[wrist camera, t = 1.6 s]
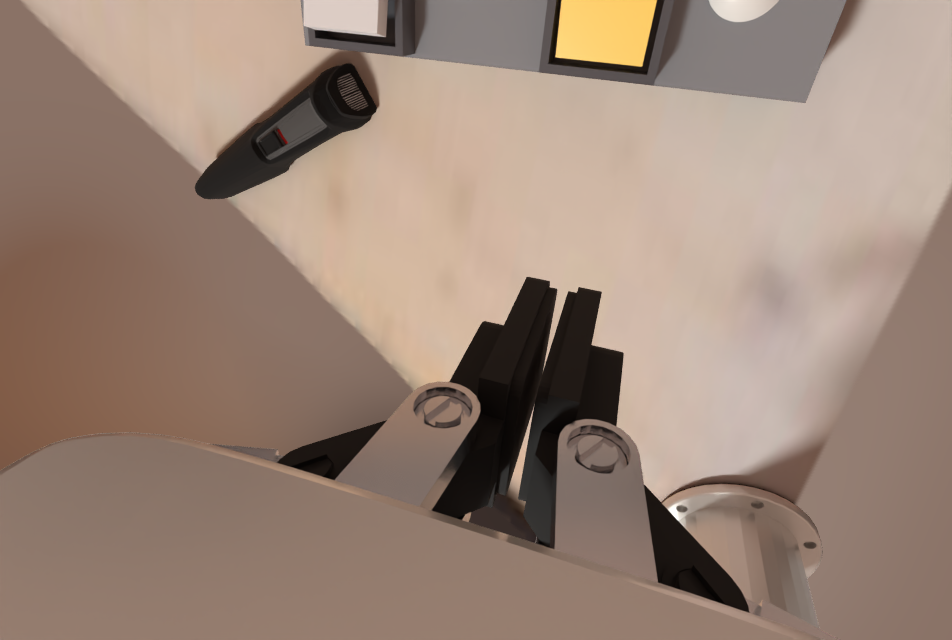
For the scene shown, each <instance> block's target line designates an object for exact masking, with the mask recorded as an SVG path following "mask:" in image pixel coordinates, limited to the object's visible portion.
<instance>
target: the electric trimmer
mask: <svg viewBox="0 0 952 640" xmlns="http://www.w3.org/2000/svg"><path fill="white" fill-rule="evenodd" d="M376 109H377V107H376V105H375V103H374V101H373V99H372V98H371V96H370V94H369V92H368V90H367V89H366V87H365V85H364V83H363V81H362V79H361V78H360V76H359V74H358V72H357V70H356V69H355V67H354V66H353V65H352V64H344V65H342V66H336V67H333V68H330V69H328V70H326V71H324V72H323V73H322V74H321V75H320V76H319V77H318V78H317V79H316V80H315V81H314V82H313V83H312V84H310V85H309V86H308V87H307V88H305V89H304V90H303V91H302V92H300V93H299V94H298V95H297V96H296V97H294V98H293V99H292V100H291V101H289V102H288V103H287V104H286V105H284V106H283V107H282V108H281V109H279V110H278V111H277V112H276V113H275V114H273V115H272V116H271V117H270V118H268V119H266V120H265V121H263V122H262V123H257V124H256V125H254V126H253V127H252V128H251V129H249V130H248V131H247V132H246V133H245V134H243V135H242V136H241V137H240V138H239V139H238V140H237V141H236V142H235V143H234V144H232V145H231V146H230V147H229V148H228V149H227V150H226V151H225V152H224V153H223V154H222V155H220V156H219V157H218V158H217V159H216V160H215V161H214V162H213V163H212V164H211V165H210V166H209V167H208V168H207V169H206V170H205V172H204V173H203V174H202V176H201V177H200V178H199V180H198V181H197V183H196V185H195V190H196V193H197V194H198V195H199V196H201V197H202V198H204V199H224V198H228V197H232V196H234V195H236V194H238V193H241V192H243V191H245V190H247V189H250V188H252V187H254V186H256V185H259V184H261V183H263V182H265V181H268V180H270V179H272V178H275V177H277V176H279V175H281V174H283V173H285V172H286V171H288V170H289V167H290V164H291V163H292V162H293V161H294V160H296V159H297V158H299V157H301V156H302V155H304V154H305V153H307V152H309V151H310V150H312V149H314V148H315V147H317V146H319V145H320V144H322V143H324V142H326V141H327V140H329V139H331V138H333V137H335V136H336V135H338V134H340V133H342V132H346V131H350V130H354V129H358V128H360V127H361V126H363V125H364V124H365V123H367V122H368V121H369V120H370V119H371V115H373V114H374V113H375V112H376ZM270 159H271V160H270Z"/></svg>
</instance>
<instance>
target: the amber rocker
mask: <svg viewBox="0 0 952 640" xmlns="http://www.w3.org/2000/svg"><path fill="white" fill-rule="evenodd" d="M656 3H657V0H562V1H561V10H560V20H559V29H558V38H557V48H556V57H557V58H567V59H576V60H585V61H594V62H603V63H613V64H622V65H631V66H640V67H642V65H643V61H644V56H645V52H646V48H647V43H648V39H649V34H650V30H651V25H652V21H653V16H654V12H655V7H656Z"/></svg>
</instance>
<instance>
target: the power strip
mask: <svg viewBox="0 0 952 640" xmlns="http://www.w3.org/2000/svg"><path fill="white" fill-rule="evenodd" d="M561 1H562V0H388V9H387V28H386V37H380V36H370V35H361V34H352V33H342V32H333V31H324V30H315V29H312V28H309V27H306V26H304V0H301V8H302V18H303V27H304V36H305V45H307V46H315V47H324V48H333V49H341V50H350V51H359V52H367V53H376V54H385V55H393V56H402V57H411V58H420V59H429V60H437V61H446V62H454V63H463V64H472V65H480V66H489V67H498V68H506V69H515V70H524V71H532V72H540V73H549V74H558V75H566V76H575V77H584V78H592V79H601V80H610V81H618V82H627V83H636V84H644V85H653V86H662V87H671V88H680V89H688V90H697V91H706V92H714V93H723V94H732V95H740V96H749V97H757V98H766V99H775V100H783V101H792V102H801V103H806V100H807V98H808V95H809V93H810V90H811V88H812V85H813V83H814V80H815V78H816V75H817V73H818V70H819V68H820V65H821V63H822V60H823V58H824V55H825V53H826V50H827V48H828V45H829V43H830V40H831V38H832V35H833V33H834V30H835V28H836V25H837V23H838V20H839V18H840V15H841V13H842V10H843V8H844V5H845V3H846V0H657V3H656V7H655V12H654V16H653V21H652V25H651V30H650V34H649V39H648V43H647V48H646V52H645V56H644V61H643V65H642V67H640V66H631V65H622V64H613V63H603V62H594V61H585V60H576V59H567V58H557V57H556V48H557V38H558V29H559V20H560V10H561Z"/></svg>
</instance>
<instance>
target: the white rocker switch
mask: <svg viewBox="0 0 952 640" xmlns="http://www.w3.org/2000/svg"><path fill="white" fill-rule="evenodd" d="M387 9H388V0H304V26H306V27H309V28H312V29H315V30H324V31H333V32H342V33H352V34H361V35H370V36H380V37H386V28H387Z"/></svg>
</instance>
